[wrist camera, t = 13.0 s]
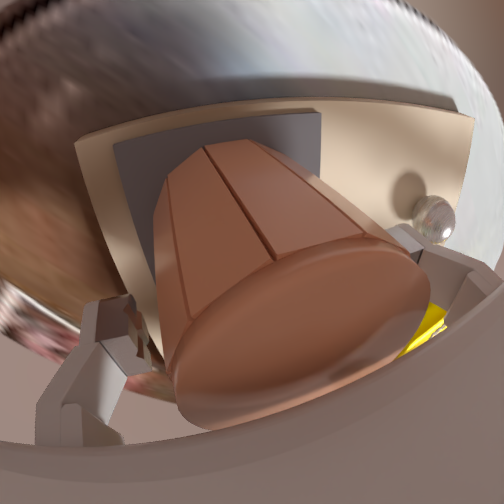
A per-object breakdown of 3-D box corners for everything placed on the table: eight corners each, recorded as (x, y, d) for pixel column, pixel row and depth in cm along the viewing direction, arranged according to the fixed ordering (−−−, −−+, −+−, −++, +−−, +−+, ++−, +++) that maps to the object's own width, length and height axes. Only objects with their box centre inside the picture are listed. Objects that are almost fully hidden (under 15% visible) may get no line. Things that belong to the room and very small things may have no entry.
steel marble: (425, 223, 17) (455, 247, 14) (397, 231, 16) (428, 258, 14) (435, 185, 15) (469, 206, 13) (407, 189, 14) (443, 214, 12)
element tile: (466, 255, 27) (491, 278, 23) (445, 317, 36) (462, 337, 33) (378, 322, 27) (403, 355, 23) (375, 369, 36) (390, 393, 33)
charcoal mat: (310, 263, 15) (313, 266, 15) (163, 301, 13) (163, 306, 13) (317, 112, 10) (321, 113, 10) (113, 143, 8) (112, 145, 8)
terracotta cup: (300, 258, 14) (385, 379, 8) (175, 290, 13) (210, 446, 7) (304, 132, 10) (464, 227, 4) (138, 160, 9) (118, 330, 3)
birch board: (414, 285, 24) (423, 295, 23) (175, 367, 19) (178, 383, 18) (459, 112, 14) (474, 118, 13) (83, 135, 9) (74, 143, 8)
